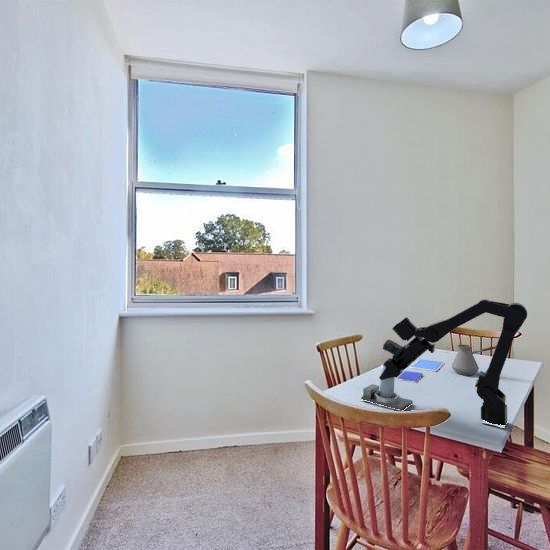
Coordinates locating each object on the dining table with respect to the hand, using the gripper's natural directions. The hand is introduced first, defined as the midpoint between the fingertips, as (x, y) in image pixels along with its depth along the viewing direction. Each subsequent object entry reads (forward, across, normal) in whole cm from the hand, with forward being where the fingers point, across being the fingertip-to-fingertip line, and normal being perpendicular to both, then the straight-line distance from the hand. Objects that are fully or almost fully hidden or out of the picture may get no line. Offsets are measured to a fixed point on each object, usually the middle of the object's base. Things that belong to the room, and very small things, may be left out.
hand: (382, 376), depth 135 cm
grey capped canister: (+5, 0, +7) cm, 8 cm away
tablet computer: (+4, -62, +10) cm, 63 cm away
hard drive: (+6, -37, +8) cm, 38 cm away
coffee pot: (-12, -56, +26) cm, 63 cm away
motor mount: (+6, 0, +8) cm, 10 cm away
